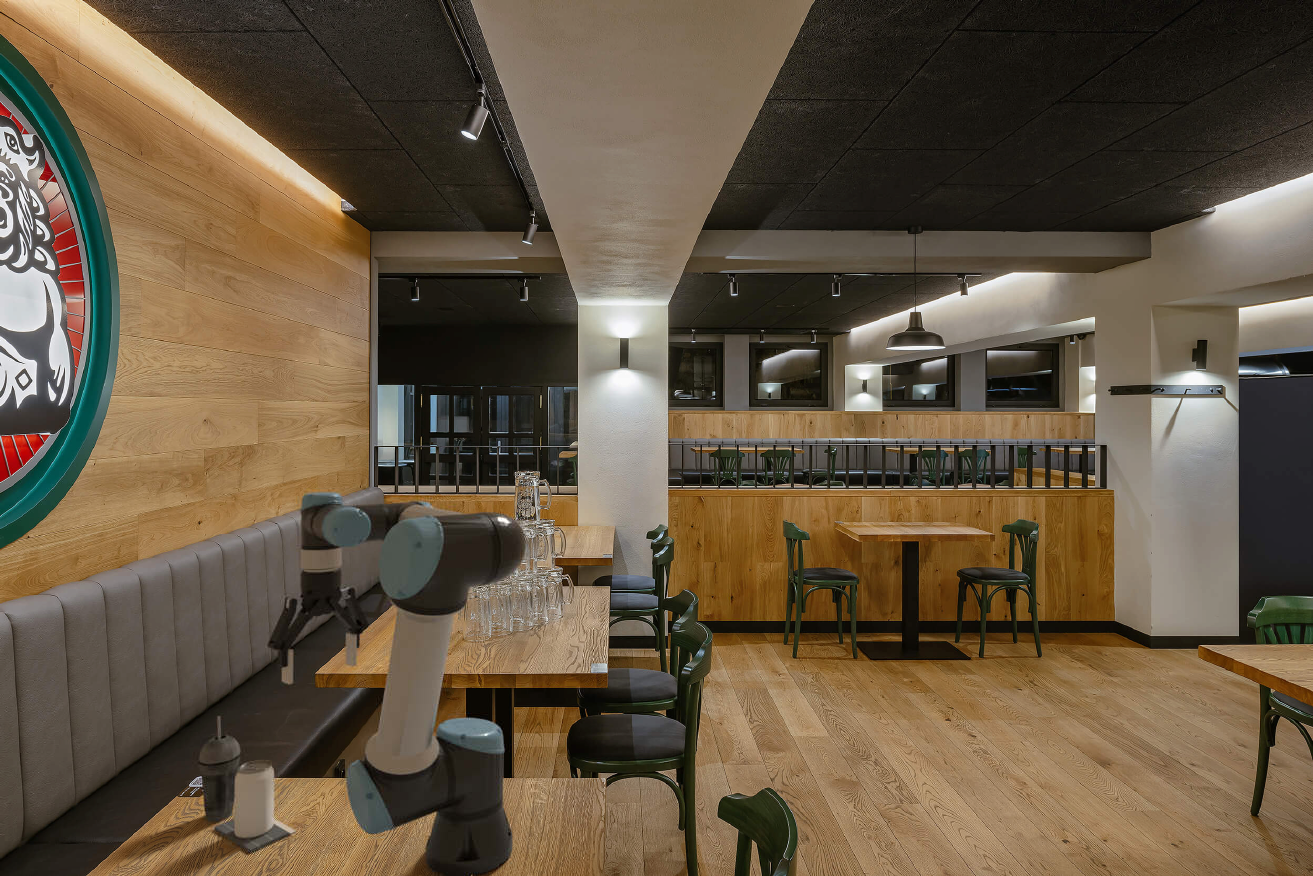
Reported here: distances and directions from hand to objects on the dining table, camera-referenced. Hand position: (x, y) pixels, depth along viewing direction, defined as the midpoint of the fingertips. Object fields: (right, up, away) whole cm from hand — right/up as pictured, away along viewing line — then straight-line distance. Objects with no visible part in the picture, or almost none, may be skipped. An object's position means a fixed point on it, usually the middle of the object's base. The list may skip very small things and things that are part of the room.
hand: (320, 673), depth 146 cm
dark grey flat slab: (-8, -27, -10) cm, 29 cm away
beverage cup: (-18, -27, -4) cm, 32 cm away
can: (-7, -26, -11) cm, 29 cm away
